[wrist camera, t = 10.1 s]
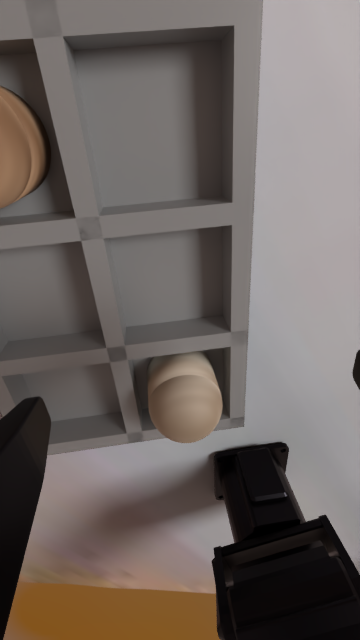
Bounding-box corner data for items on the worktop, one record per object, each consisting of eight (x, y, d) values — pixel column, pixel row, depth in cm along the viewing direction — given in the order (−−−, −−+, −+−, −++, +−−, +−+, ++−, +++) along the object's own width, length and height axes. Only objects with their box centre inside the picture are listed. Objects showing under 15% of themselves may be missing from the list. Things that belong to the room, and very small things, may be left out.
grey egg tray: (234, 399, 24) (243, 426, 22) (35, 427, 23) (24, 458, 21) (242, 10, 13) (263, -17, 11) (-143, 34, 12) (-208, 10, 10)
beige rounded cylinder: (212, 391, 23) (230, 453, 18) (151, 399, 22) (154, 464, 18) (210, 340, 20) (231, 397, 16) (142, 349, 20) (144, 409, 16)
